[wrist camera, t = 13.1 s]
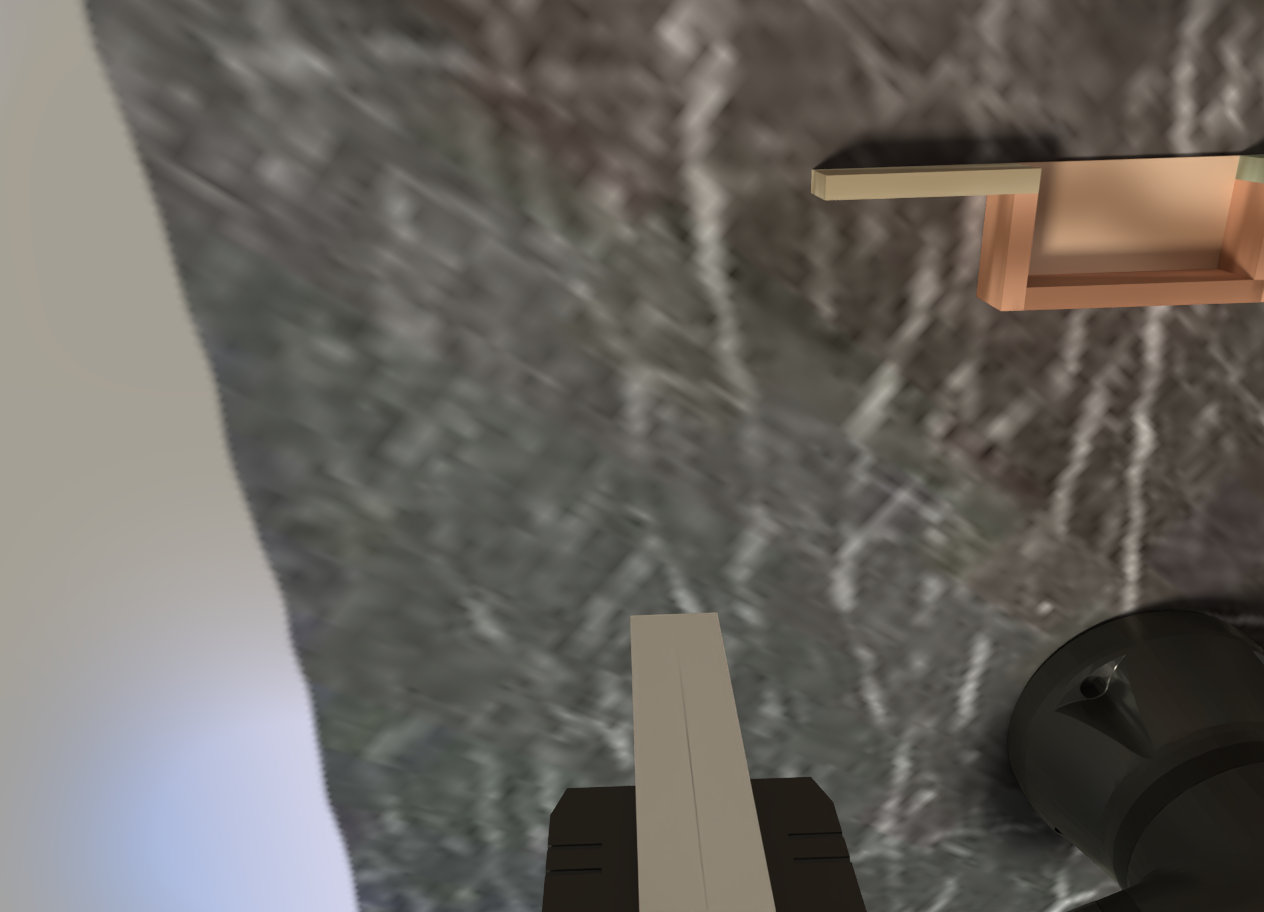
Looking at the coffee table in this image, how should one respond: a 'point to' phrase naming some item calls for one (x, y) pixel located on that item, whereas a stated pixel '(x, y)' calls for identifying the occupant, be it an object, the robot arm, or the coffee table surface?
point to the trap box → (1097, 227)
